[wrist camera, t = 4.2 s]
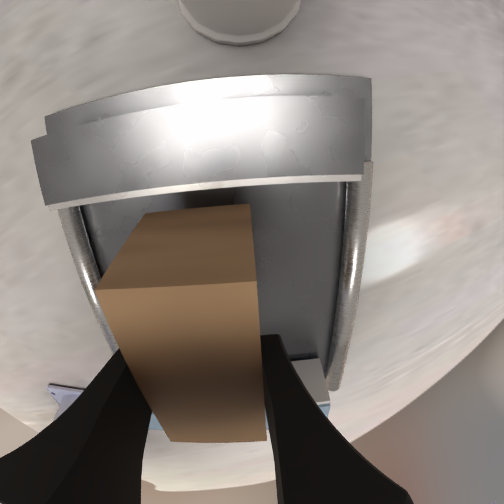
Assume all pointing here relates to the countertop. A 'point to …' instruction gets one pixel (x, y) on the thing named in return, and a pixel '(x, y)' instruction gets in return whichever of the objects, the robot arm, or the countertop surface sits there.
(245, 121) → the vise
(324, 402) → the bar
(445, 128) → the countertop surface
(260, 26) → the bottle
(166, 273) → the walnut block
